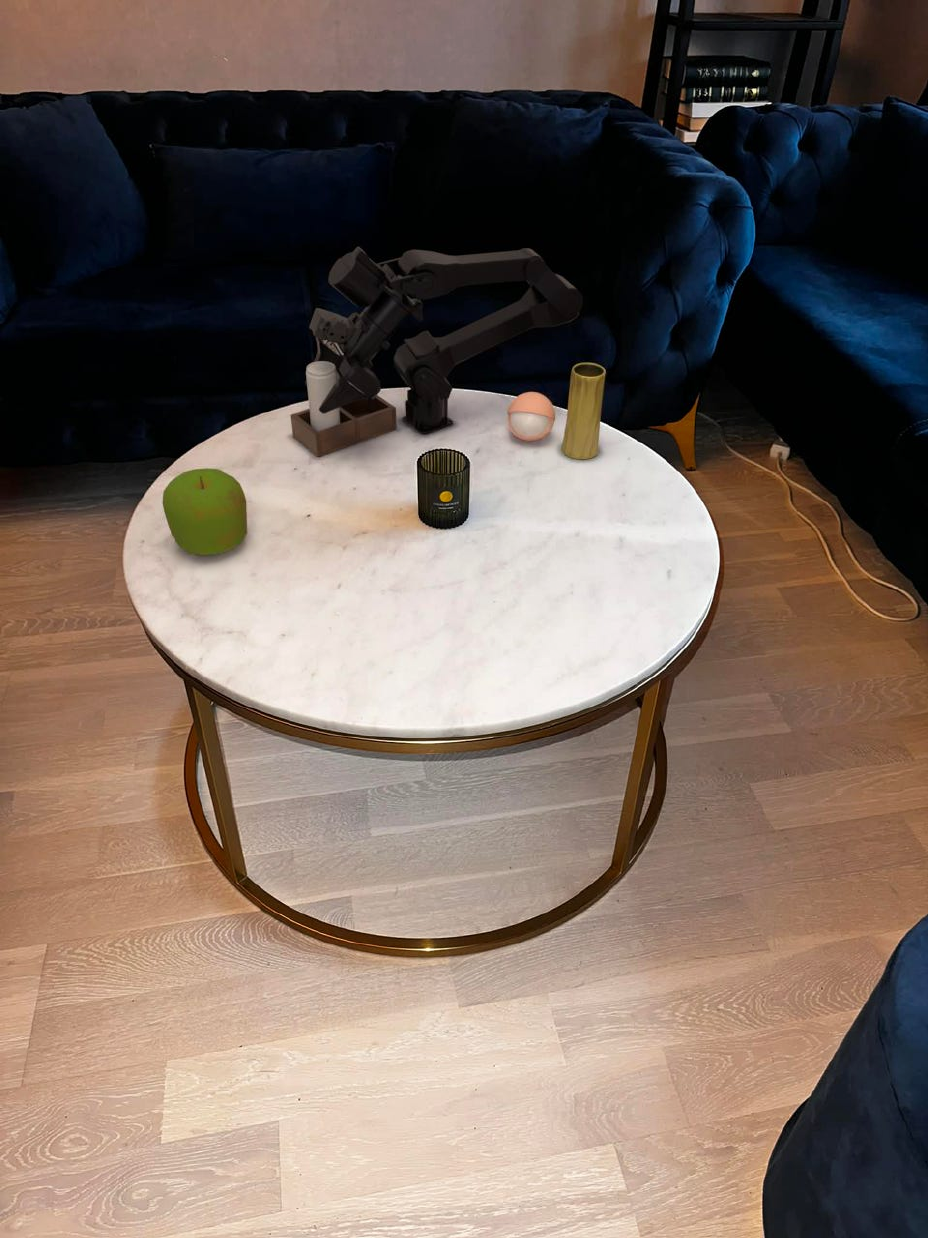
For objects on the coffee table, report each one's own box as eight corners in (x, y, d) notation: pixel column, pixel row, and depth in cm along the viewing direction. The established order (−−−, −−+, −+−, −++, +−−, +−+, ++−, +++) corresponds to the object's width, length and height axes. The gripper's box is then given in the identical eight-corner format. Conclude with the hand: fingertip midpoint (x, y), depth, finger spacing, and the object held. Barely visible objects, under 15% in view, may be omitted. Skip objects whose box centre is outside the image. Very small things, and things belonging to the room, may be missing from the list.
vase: (556, 455, 154) (564, 374, 144) (567, 437, 158) (575, 358, 149) (592, 463, 152) (602, 381, 143) (602, 445, 156) (613, 365, 147)
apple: (156, 548, 132) (140, 482, 125) (209, 511, 139) (196, 447, 132) (216, 574, 128) (203, 507, 121) (267, 535, 135) (258, 470, 128)
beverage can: (327, 424, 158) (321, 357, 150) (347, 434, 156) (342, 366, 148) (306, 435, 155) (299, 367, 147) (326, 445, 153) (320, 377, 145)
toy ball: (501, 444, 156) (503, 401, 151) (511, 422, 161) (514, 380, 156) (548, 452, 154) (552, 408, 149) (557, 430, 160) (561, 387, 155)
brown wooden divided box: (370, 410, 164) (369, 389, 161) (396, 429, 159) (395, 407, 156) (292, 436, 156) (290, 414, 154) (317, 457, 152) (315, 434, 149)
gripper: (324, 269, 148) (262, 345, 152) (356, 315, 134) (287, 397, 139) (374, 312, 155) (314, 383, 159) (409, 359, 142) (343, 436, 146)
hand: (313, 398), depth 150 cm, fingers open, 9 cm apart
